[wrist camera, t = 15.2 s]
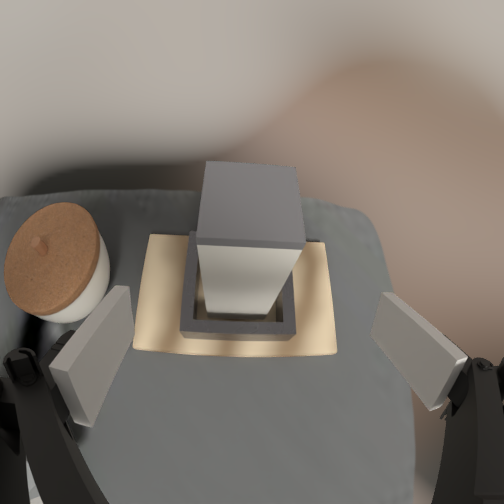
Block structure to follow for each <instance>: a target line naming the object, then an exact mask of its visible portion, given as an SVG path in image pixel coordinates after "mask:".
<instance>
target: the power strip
mask: <svg viewBox="0 0 504 504" xmlns="http://www.w3.org/2000/svg"><path fill="white" fill-rule="evenodd" d="M196 241H197V249H198V256H199V264H200V271H201V278H202V285H203V291H204V298H205V304H206V310H207V316H208V318H221V319H253V320H264V319H265V317H266V316H267V314H268V312H269V310H270V308H271V307H272V305H273V303H274V301H275V300H276V298H277V296H278V294H279V292H280V291H281V289H282V287H283V285H284V283H285V282H286V280H287V278H288V276H289V274H290V272H291V271H292V269H293V267H294V265H295V263H296V261H297V259H298V258H299V256H300V254H301V252H302V250H303V248H304V246H305V244H306V237H305V229H304V221H303V214H302V206H301V199H300V193H299V186H298V179H297V173H296V168H295V167H287V166H278V165H266V164H254V163H239V162H221V161H207V162H206V168H205V175H204V181H203V188H202V195H201V202H200V209H199V217H198V225H197V233H196Z"/></svg>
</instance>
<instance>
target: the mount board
mask: <svg viewBox="0 0 504 504" xmlns="http://www.w3.org/2000/svg"><path fill="white" fill-rule="evenodd" d="M188 240H189V236H184V235H160V234H150V237H149V242H148V247H147V252H146V257H145V262H144V268H143V274H142V280H141V286H140V292H139V299H138V306H137V313H136V321H135V335H134V339H133V348H135V349H138V350H147V351H155V352H165V353H176V354H189V355H205V356H228V357H293V356H315V355H331V354H335V353H337V346H336V334H335V323H334V313H333V304H332V295H331V287H330V279H329V272H328V264H327V257H326V251H325V244H324V243H319V242H306V244H305V246H304V248H303V250H302V252H301V254H300V256H299V258H298V259H297V261H296V263H295V265H294V267H293V269H292V273H293V287H294V302H295V318H296V335H295V336H294V337H292V338H291V339H290V340H289V341H226V340H204V339H188V338H184V337H183V336H182V334H181V333H180V331H179V329H180V316H181V304H182V293H183V283H184V273H185V264H186V256H187V248H188ZM197 320H213V321H238V322H276V301H274V303H273V305H272V307H271V308H270V310H269V312H268V314H267V316H266V317H265V319H264V320H253V319H221V318H208V316H207V310H206V304H205V298H204V291H203V285H202V278H201V271H200V278H199V291H198V305H197Z"/></svg>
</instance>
